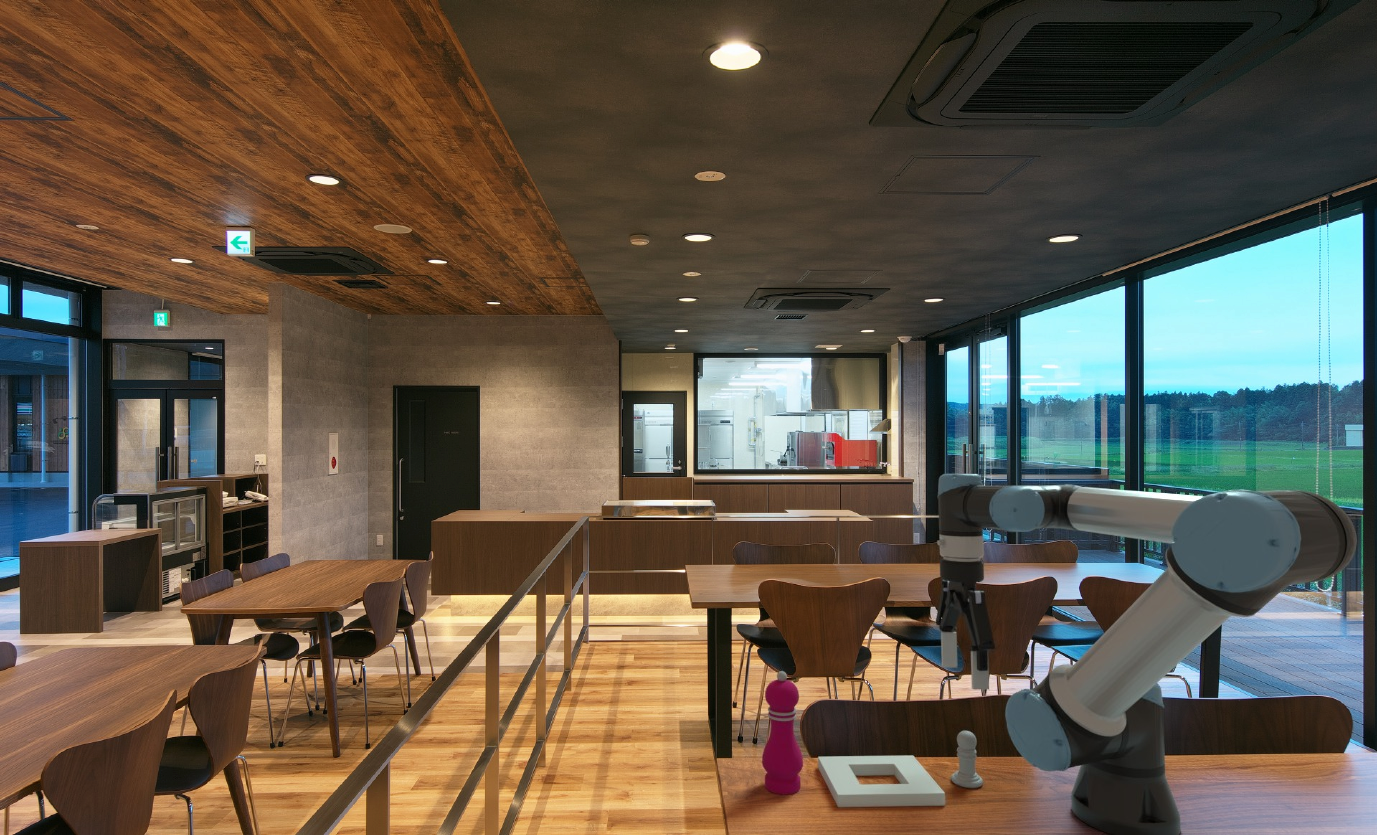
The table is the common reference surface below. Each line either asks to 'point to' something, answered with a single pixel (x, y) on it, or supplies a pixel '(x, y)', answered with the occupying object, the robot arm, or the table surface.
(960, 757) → the chess piece
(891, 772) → the socket board
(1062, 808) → the table surface
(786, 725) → the pepper mill
